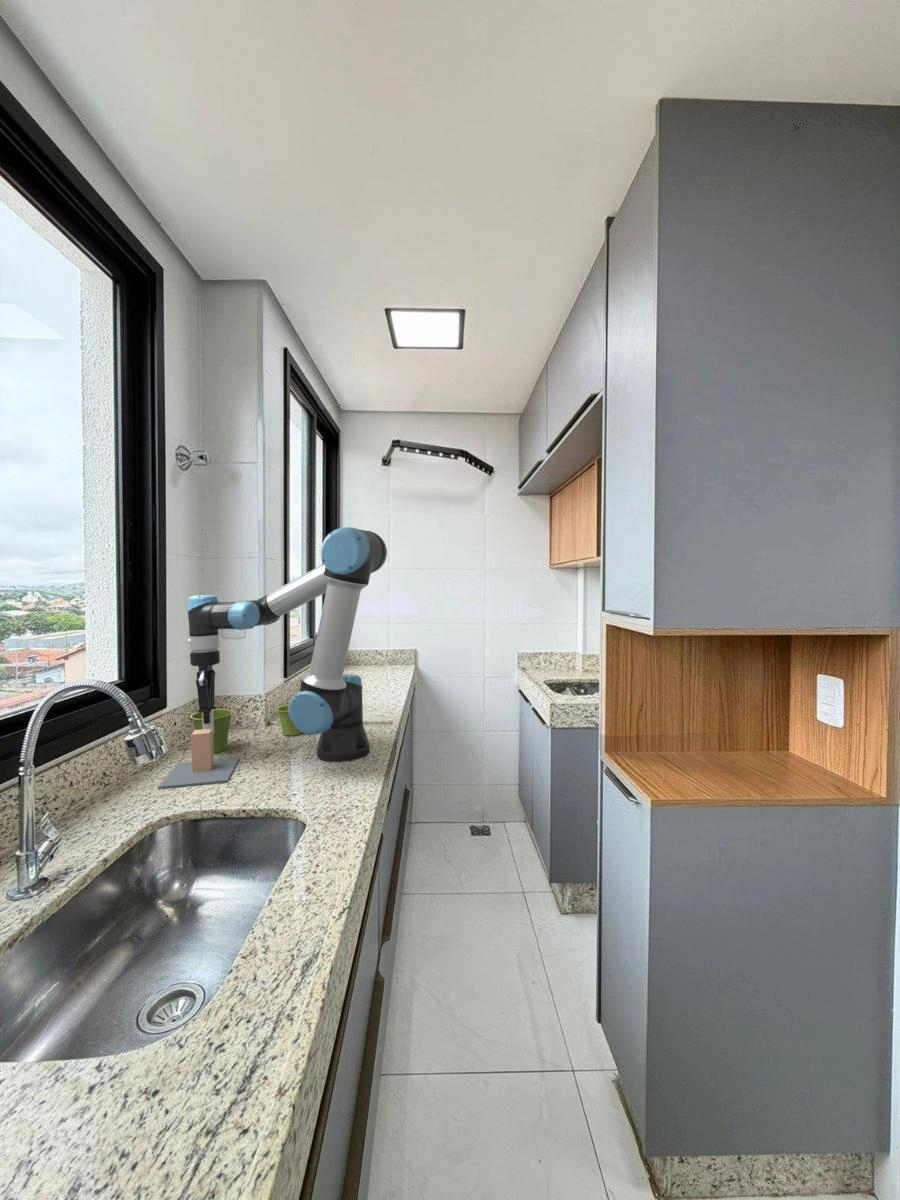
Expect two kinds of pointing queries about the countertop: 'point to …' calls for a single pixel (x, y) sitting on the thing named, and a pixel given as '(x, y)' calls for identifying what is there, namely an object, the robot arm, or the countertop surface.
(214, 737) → the plant pot
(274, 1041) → the countertop surface
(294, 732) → the plant pot
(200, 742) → the block
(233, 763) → the mat
